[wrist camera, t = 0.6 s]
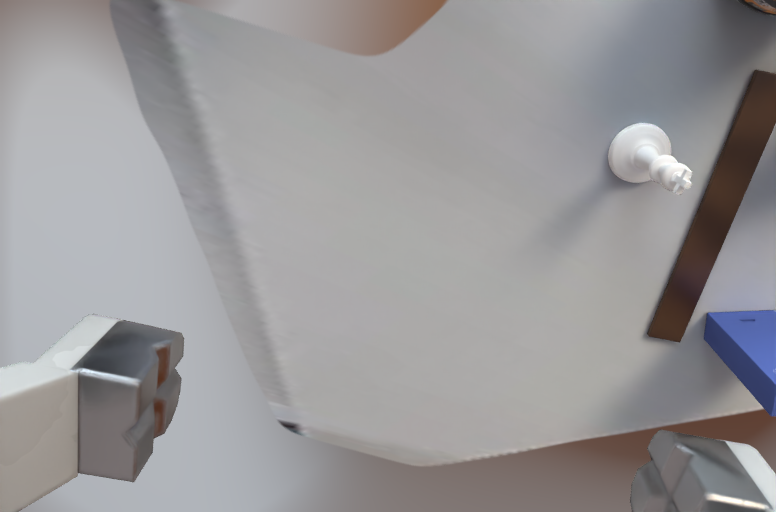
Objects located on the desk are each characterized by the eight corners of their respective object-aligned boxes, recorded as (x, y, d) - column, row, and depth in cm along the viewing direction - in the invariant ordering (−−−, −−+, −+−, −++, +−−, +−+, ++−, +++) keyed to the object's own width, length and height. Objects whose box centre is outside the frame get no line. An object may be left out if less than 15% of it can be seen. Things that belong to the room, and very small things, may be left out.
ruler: (754, 69, 47) (758, 70, 46) (791, 77, 47) (795, 77, 46) (646, 333, 56) (648, 336, 55) (678, 340, 56) (680, 342, 56)
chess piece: (597, 171, 50) (637, 207, 41) (624, 114, 49) (672, 138, 39) (651, 189, 51) (702, 229, 42) (680, 133, 49) (740, 162, 40)
